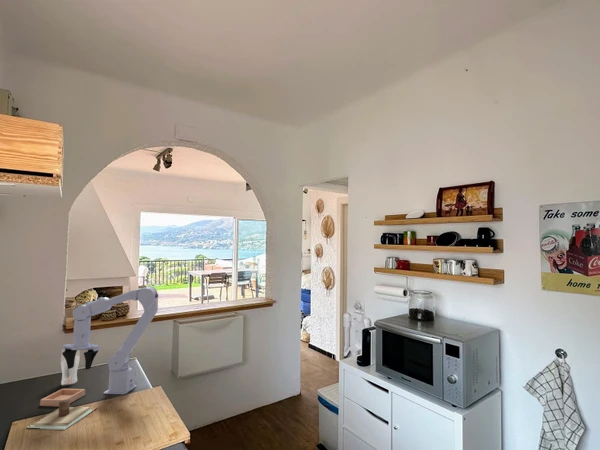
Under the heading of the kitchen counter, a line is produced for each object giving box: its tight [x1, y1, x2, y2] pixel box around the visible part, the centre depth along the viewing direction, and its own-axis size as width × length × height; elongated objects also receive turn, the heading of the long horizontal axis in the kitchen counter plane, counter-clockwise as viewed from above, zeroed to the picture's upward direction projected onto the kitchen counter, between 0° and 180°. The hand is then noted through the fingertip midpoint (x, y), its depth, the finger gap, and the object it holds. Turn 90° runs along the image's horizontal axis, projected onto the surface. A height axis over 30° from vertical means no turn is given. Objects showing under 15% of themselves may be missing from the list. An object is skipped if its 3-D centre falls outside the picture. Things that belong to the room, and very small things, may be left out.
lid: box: [35, 399, 91, 426], centre depth 110 cm, size 11×11×5 cm
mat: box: [26, 409, 94, 431], centre depth 110 cm, size 14×14×1 cm
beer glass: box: [60, 348, 81, 386], centre depth 142 cm, size 7×7×15 cm
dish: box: [39, 388, 86, 407], centre depth 124 cm, size 10×10×2 cm
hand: (79, 368), depth 130 cm, fingers open, 7 cm apart
